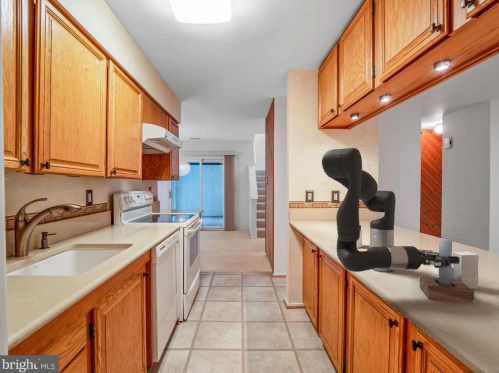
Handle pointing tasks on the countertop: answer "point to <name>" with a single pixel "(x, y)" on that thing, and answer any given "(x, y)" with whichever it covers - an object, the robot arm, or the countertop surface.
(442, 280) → the long pin
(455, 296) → the socket block
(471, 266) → the skincare box
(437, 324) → the countertop surface
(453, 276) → the short pin
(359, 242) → the jar
